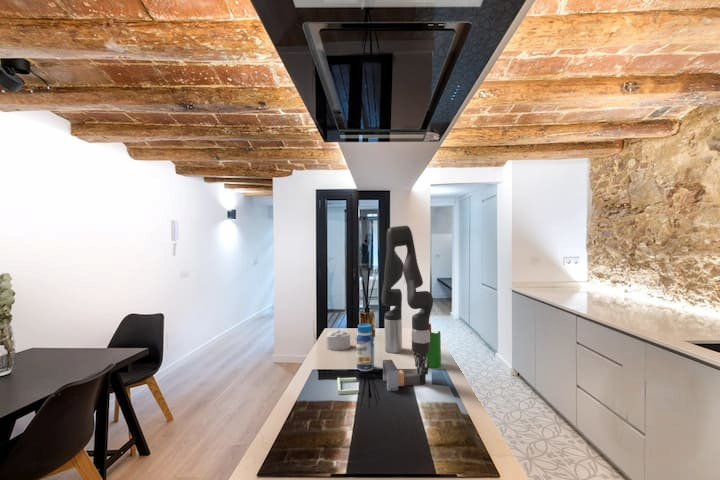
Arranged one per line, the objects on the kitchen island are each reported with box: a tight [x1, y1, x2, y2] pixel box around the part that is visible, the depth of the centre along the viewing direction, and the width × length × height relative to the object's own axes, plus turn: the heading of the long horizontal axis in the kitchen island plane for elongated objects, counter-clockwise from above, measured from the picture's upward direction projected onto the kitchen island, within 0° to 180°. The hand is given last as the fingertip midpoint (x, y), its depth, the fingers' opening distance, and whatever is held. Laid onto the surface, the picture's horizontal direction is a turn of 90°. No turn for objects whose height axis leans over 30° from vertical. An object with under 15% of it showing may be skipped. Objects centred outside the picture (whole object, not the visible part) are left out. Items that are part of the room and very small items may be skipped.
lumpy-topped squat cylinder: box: [326, 329, 351, 351], centre depth 184 cm, size 10×13×9 cm
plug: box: [397, 369, 426, 387], centre depth 135 cm, size 14×4×5 cm, turn 96°
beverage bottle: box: [355, 323, 375, 372], centre depth 152 cm, size 8×8×20 cm
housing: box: [382, 359, 399, 392], centre depth 134 cm, size 4×12×8 cm, turn 6°
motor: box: [426, 323, 442, 369], centre depth 156 cm, size 10×9×20 cm
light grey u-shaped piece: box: [336, 377, 360, 395], centre depth 132 cm, size 12×8×2 cm, turn 6°
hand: (421, 381), depth 136 cm, fingers closed on plug, 3 cm apart
